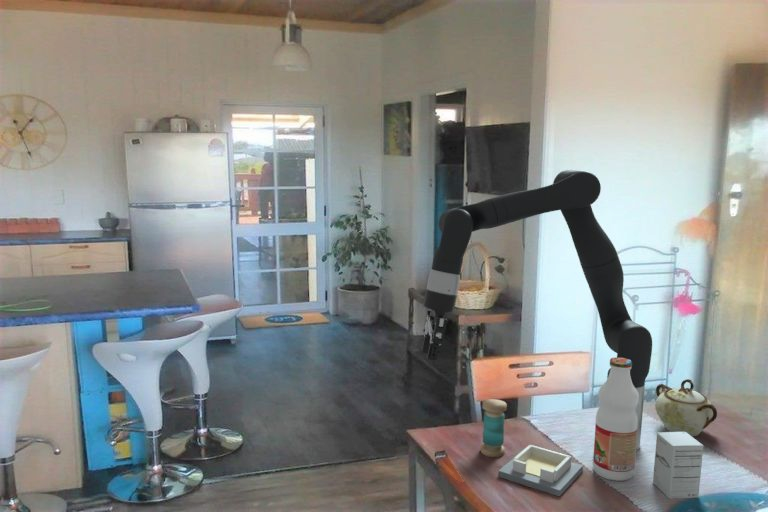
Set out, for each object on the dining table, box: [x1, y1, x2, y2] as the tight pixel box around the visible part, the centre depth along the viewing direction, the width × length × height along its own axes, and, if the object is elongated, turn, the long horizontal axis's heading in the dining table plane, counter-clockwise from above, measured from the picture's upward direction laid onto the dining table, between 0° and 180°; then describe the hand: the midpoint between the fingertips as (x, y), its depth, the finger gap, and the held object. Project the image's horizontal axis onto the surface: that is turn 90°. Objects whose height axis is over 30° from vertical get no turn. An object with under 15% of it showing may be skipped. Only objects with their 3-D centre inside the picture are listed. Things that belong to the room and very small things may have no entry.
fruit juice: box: [592, 356, 639, 482], centre depth 154 cm, size 9×9×28 cm
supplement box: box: [652, 431, 704, 499], centre depth 147 cm, size 7×7×13 cm
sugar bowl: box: [654, 378, 718, 437], centre depth 180 cm, size 20×15×15 cm
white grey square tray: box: [497, 444, 584, 497], centre depth 154 cm, size 15×15×4 cm
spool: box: [480, 398, 508, 458], centre depth 165 cm, size 6×6×13 cm
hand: (428, 356), depth 157 cm, fingers open, 8 cm apart
